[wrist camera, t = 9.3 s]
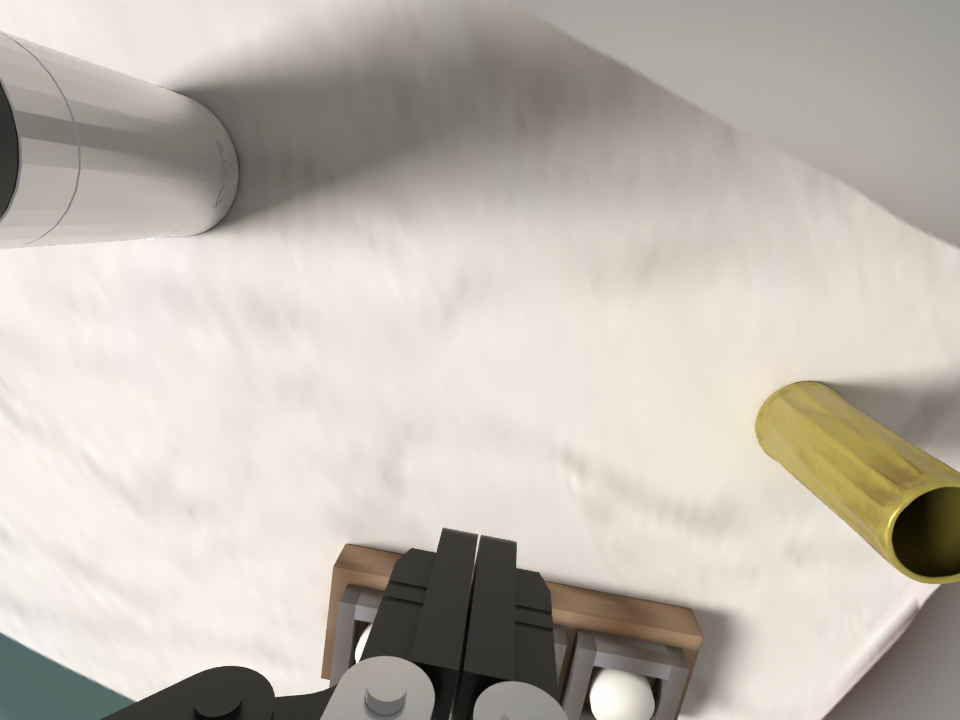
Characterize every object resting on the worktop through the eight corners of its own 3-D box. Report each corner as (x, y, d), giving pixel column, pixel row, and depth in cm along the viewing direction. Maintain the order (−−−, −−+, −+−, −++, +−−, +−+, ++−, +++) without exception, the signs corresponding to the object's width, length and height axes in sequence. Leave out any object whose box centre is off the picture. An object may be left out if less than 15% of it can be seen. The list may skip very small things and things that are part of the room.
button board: (333, 649, 47) (311, 699, 42) (345, 543, 45) (324, 583, 40) (659, 713, 46) (675, 771, 42) (691, 609, 44) (711, 658, 39)
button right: (582, 700, 43) (585, 723, 41) (594, 652, 42) (598, 673, 40) (641, 712, 43) (646, 735, 41) (655, 663, 42) (661, 685, 40)
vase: (799, 363, 39) (952, 445, 25) (866, 416, 39) (1052, 527, 25) (735, 429, 40) (845, 542, 26) (800, 480, 41) (942, 617, 27)
